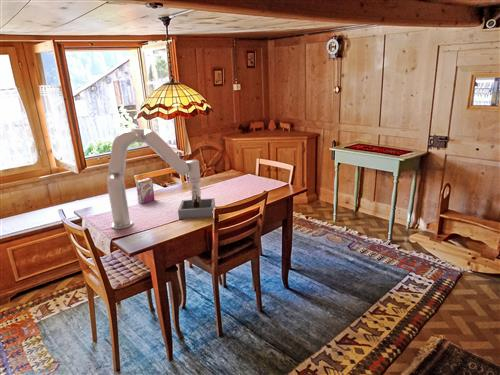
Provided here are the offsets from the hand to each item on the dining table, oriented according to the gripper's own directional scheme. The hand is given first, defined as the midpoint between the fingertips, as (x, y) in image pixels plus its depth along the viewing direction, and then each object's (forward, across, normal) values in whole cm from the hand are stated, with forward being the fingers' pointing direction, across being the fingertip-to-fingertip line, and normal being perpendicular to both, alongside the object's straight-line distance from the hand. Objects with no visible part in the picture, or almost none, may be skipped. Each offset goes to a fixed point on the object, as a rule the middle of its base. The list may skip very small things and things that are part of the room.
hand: (197, 205), depth 235 cm
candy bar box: (+5, +31, +40) cm, 51 cm away
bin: (+5, 0, 0) cm, 5 cm away
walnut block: (+2, 0, 0) cm, 2 cm away
